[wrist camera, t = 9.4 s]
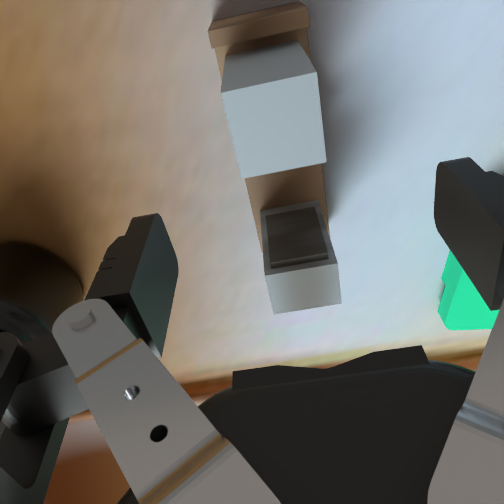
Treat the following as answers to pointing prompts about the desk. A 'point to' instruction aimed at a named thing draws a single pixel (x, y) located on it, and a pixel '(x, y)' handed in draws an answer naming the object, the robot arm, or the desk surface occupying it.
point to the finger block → (273, 109)
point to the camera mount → (462, 301)
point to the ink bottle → (33, 291)
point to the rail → (285, 182)
